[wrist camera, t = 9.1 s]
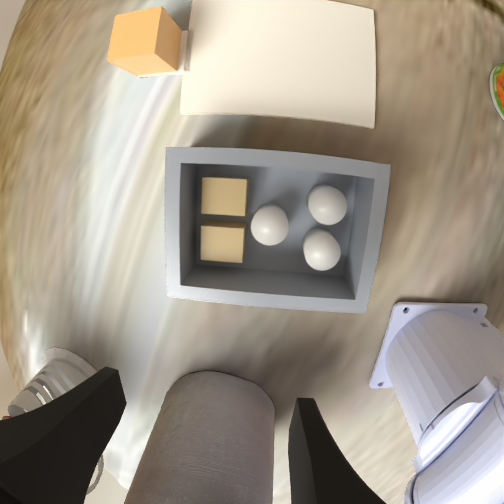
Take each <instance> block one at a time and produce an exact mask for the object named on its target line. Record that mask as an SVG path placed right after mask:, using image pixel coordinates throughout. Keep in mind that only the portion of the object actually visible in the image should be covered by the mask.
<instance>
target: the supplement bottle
mask: <svg viewBox="0 0 504 504" xmlns="http://www.w3.org/2000/svg"><path fill="white" fill-rule="evenodd" d="M489 86H490V93H491V97H492V100H493V103H494V106H495V108H496V110H497V112H498V113H499V115H500V116H501V118H502V119H503V120H504V63H503V64H500V65H498V66H496V67H495V68H494V69H493V70H492V72H491V75H490V80H489Z"/></svg>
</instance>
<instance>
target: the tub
mask: <svg viewBox="0 0 504 504" xmlns="http://www.w3.org/2000/svg"><path fill="white" fill-rule="evenodd" d="M390 171H391V165H387V164H382V163H376V162H369V161H363V160H356V159H349V158H342V157H334V156H326V155H317V154H308V153H298V152H287V151H275V150H261V149H243V148H217V147H166V158H165V260H166V283H167V297H172V298H180V299H189V300H197V301H206V302H215V303H225V304H235V305H245V306H256V307H268V308H281V309H294V310H309V311H325V312H344V313H366V311H367V307H368V302H369V298H370V294H371V289H372V285H373V280H374V275H375V271H376V266H377V260H378V255H379V250H380V244H381V238H382V232H383V226H384V219H385V213H386V205H387V198H388V190H389V181H390Z"/></svg>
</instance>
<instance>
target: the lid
mask: <svg viewBox="0 0 504 504" xmlns="http://www.w3.org/2000/svg"><path fill="white" fill-rule="evenodd" d="M107 61H108V62H110V63H112V64H114V65H116V66H118V67H120V68H122V69H124V70H126V71H128V72H130V73H132V74H134V75H136V76H138V77H140V78H144V77H153V76H164V75H176V74H183V79H182V90H181V102H180V114H182V115H249V116H268V117H282V118H293V119H304V120H313V121H321V122H329V123H337V124H344V125H350V126H357V127H363V128H368V129H373V128H374V124H375V98H376V51H375V26H374V11H373V9H369V8H364V7H360V6H355V5H350V4H345V3H339V2H334V1H327V0H192V7H191V13H190V20H189V27H188V30H184V31H182V30H181V29H180V28H179V26H178V25H177V24H176V23H175V21H174V20H173V19H172V18H171V16H170V15H169V14H168V13H167V12H166V10H165V9H164V8H163V7H162V6H161V7H154V8H149V9H143V10H138V11H133V12H129V13H124V14H120V15H116V16H115V20H114V25H113V30H112V35H111V41H110V46H109V52H108V58H107Z"/></svg>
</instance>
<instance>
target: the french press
mask: <svg viewBox="0 0 504 504" xmlns="http://www.w3.org/2000/svg"><path fill="white" fill-rule="evenodd" d="M42 364H43V368H42V369H41V370H40V371H39V372H38V373H37V375H36V376H35V377H34V378H33V379H32V380H31V381H30V382H29V383H28V384H27V385H26V387H25V388H24V389H23V390H22V391H21V392H20V393H19V394H18V395H17V397H16V398H15V399H14V400H13V401H12V402H11V403H10V405H9V406H8V412H9V415H10V416H4V417H3V419H2V420H4V419H8V418H11V417H14V416H17V415H21V414H23V413H26V412H25V411H24V410H23V409H25V410H26V411H28V412H29V411H32V410H34V409H36V408H38V407H41V406H43V404H42V402H41V401H40V400H39V398H38V397H37V396H36V394H37V393H38V392H39V393H40V394H41V396H42V397H43V398H44V400H45V402H46V404H47V403H49V402H51V401H52V399H51V397H50V396H49V395H48V393H47V392H46V391H45V389H44V388H43V386H45V387H46V388H47V389H48V391H49V392H50V394H51V396H52V398H53V400H54V399H56V398H58V397H59V396H61V395H63V394H64V393H66V392H68V391H69V390H71V389H73V388H74V387H76V386H77V385H79V384H80V383H82V382H83V381H85V380H86V379H88V378H89V377H91V376H92V375H94V374H95V373H97V372H98V371H97V370H96V369H94V368H93V367H92V366H91V365H90V364H89V363H88V362H86V361H85V360H84V359H83V358H81V357H79V356H78V355H76V354H74V353H72V352H70V351H69V350H66V349H61V348H57V347H53V348H50V349H47V350H45V352H44V355H43V357H42ZM103 466H104V462H103V455H101V461H100V459H99V461H98V471H99V472H98V475H97V478H96V480H95V482H94V483H93V484H92V485H91V486H90V487H89V488H88V490H87V493H86V495H87V494H89V493H90V492H91V491H93V490H94V489H95V487H96V485H97V484H98V482H99V479H100V477H101V474H102V471H103Z"/></svg>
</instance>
